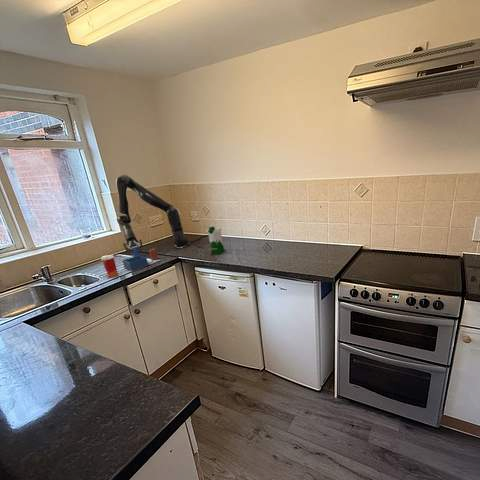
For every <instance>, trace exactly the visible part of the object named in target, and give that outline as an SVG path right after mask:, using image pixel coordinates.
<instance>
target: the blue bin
mask: <svg viewBox="0 0 480 480" xmlns="http://www.w3.org/2000/svg"><path fill="white" fill-rule="evenodd" d="M122 264H123V266H124V269H127V270H130V271H135V270H138V269H140V268H144V267H146V266H149V262H148V258H147V257H146V256H142V255H140V256H135V257H134V256H132V257H128V258H126V259H123V260H122Z"/></svg>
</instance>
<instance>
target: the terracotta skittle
mask: <svg viewBox="0 0 480 480" xmlns="http://www.w3.org/2000/svg"><path fill="white" fill-rule="evenodd" d="M149 255H150V259H151V261H157V260H158V254H157V251H156V248H150V249H149Z"/></svg>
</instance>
